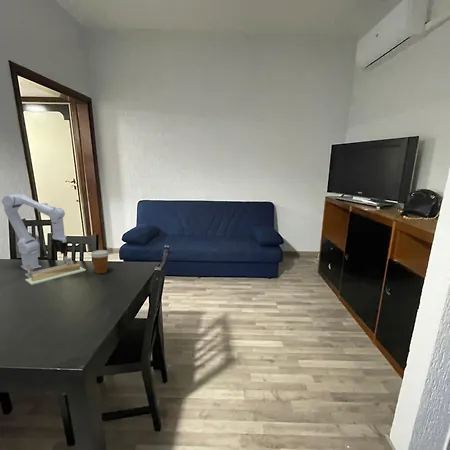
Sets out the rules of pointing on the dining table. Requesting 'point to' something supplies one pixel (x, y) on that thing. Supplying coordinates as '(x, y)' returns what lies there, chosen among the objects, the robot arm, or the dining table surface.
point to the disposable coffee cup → (100, 261)
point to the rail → (55, 272)
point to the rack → (30, 269)
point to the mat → (54, 277)
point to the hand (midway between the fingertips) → (60, 252)
